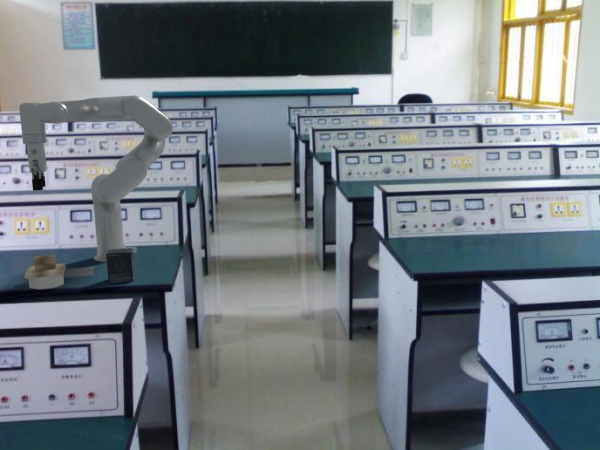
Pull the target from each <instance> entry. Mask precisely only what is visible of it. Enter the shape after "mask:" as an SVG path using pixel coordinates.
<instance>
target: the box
mask: <svg viewBox="0 0 600 450" xmlns="http://www.w3.org/2000/svg"><path fill="white" fill-rule="evenodd" d="M106 259H107V262H106V265H107V266H106V267H107V269H106V270H107V277H108V278H107V280H108V284H115V283H117V284H120V283H131V282H134V280H135V278H136V275H135V261H134V253H133V249H132V248H125V249H110V250H108V251H107V253H106Z"/></svg>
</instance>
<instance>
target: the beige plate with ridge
mask: <svg viewBox="0 0 600 450" xmlns="http://www.w3.org/2000/svg"><path fill="white" fill-rule="evenodd" d="M33 264H34V265H28V268H27V269H26V272H25V273H24V279H28V278H38V277H49V276H60V275H63V273H64V270H65V269H66V267H67V266H66V262H63V263H56V255H55V254H51V255H50V254H49V255H37V256H34V257H33Z"/></svg>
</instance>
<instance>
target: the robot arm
mask: <svg viewBox="0 0 600 450" xmlns="http://www.w3.org/2000/svg"><path fill="white" fill-rule="evenodd" d="M18 108H19V116H20V117H19V118H20V127H21V138H22V144H23V145H26V151H27V159H28V160H27V161H28V168H29V172H30V173H31V183H32V191H34V192H38V191H39V192H40V191H44V188H45V187H46V186H47V185H46V184H47V183H46V176H45V173H46V171H47V170H48V166H47V165H48V164H47V159H46V158H47V156H46V149H45V144H47V143H48V142H47V134H46V133H47V132H46V124H54V125H58V124H62V123H72V122H73V123H74V122H88V123H89V122H91V123H99V122H112V121H113V122H115V121H127V120H128V121H129V120H132V121H134V122H135V123H136V124H137V125H139V126H140V127H141V128H142V129H143V131H144V132H143V139H142V141H141V142H140V143H139V144H138V145H136V146H135V147H134V148H132V150H131V151H130V152H128V153H127V154H125V155H124V156H123V157H121V158H120V159H119V160H118V161H117V162H116V165H115V169H114V170H112V172H110V173H109V174H105V173H103V174H99V175H97V176H96V177H95V178H94V179H93V180H92V182H91V186H90V190H91V191H90V193H91V199H92V205H93V213H94V225H95V226H94V227H95V236H96V238H95V239H96V249H97V250H96V251H97V254H96V255H94V256H93V260H94V261H95V262H104V263H107V259H106V253H107V251H108V250H110V249H125V248H132V249H133V254H134V253H137V251H138V250H137V247H133V246H129V247H128V246H125V244H124V233H123V232H124V231H123V219H122V216H123V215H122V205H121V200H122V199H123V198H124V197H127V195H128V194H130V193H131V192H133V190H135V188H137V187H138V186H139V185H140V184H141V183H142V182H144V180H145V179H146V177H147V176H148V175H147V174H148V168H149V167H151V166H152V165H153V164H154V163H155V162H156V161H157V160H158V159H159V158H160V157H161V155H163V152H164V149H165V146H166V140H167V139H168V138H169V137H170V136H171V135H172V133H173V130H174V127H173V126H174V125H173V123H172V121H171V120H170V118H168V117H167V115H165V114H164V113H163V112H161V111H160V110H158V109H157V108H156V107H155V106H154V105H152V104H151V103H149V101H147V100H146V99H144V98H143V97H141V96H140V95H121V96H120V95H119V96H118V95H117V96H106V97H105V96H104V97H103V96H101V97H89V98H85V99H79V100H64V101H63V100H62V101H60V100H59V101H49V102H44V103H43V102H42V103H41V102H23V103H20V104H19V106H18Z"/></svg>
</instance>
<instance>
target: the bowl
mask: <svg viewBox="0 0 600 450" xmlns="http://www.w3.org/2000/svg"><path fill="white" fill-rule="evenodd" d="M27 280H28V285H29V289H35V290H49V289H54V288H57V287H60V286H63V285H64V283H65V278H64V275H60V276H49V277H38V278H27Z"/></svg>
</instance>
